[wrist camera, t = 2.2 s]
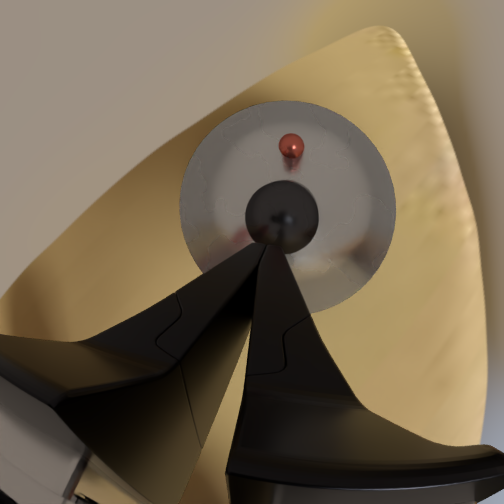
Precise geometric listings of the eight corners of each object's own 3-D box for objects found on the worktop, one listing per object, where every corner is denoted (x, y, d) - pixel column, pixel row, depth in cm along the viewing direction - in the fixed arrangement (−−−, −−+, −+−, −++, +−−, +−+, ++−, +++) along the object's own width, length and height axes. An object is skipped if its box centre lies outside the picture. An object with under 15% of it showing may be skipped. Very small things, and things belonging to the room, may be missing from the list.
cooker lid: (368, 318, 15) (376, 345, 13) (183, 289, 17) (163, 309, 14) (402, 122, 12) (419, 114, 10) (196, 100, 14) (174, 89, 11)
